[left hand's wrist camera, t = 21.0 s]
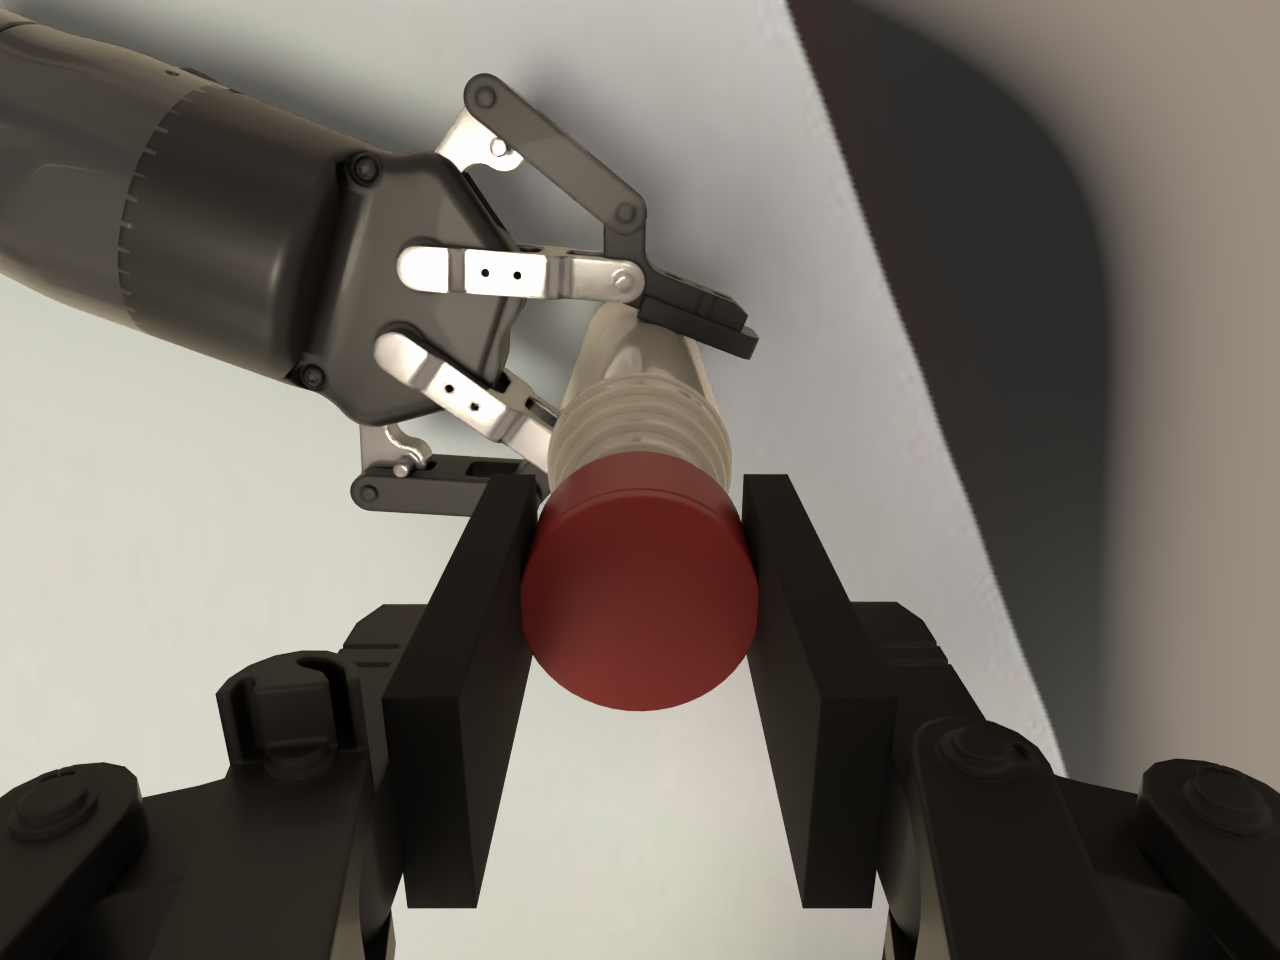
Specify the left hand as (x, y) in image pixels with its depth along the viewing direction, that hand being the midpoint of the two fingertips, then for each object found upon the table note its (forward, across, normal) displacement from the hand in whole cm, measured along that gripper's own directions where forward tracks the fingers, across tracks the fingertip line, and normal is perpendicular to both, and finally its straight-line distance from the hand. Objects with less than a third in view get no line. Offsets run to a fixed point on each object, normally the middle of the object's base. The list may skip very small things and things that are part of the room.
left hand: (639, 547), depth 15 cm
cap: (-2, 0, 0) cm, 2 cm away
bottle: (+19, 0, 0) cm, 19 cm away
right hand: (+12, -2, +1) cm, 12 cm away
